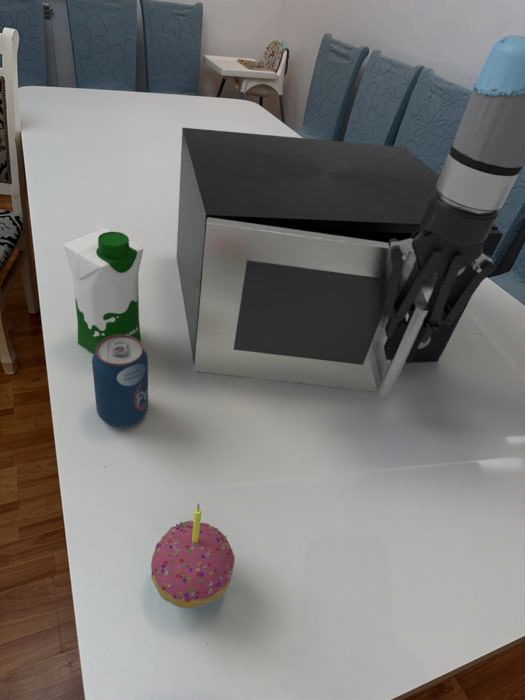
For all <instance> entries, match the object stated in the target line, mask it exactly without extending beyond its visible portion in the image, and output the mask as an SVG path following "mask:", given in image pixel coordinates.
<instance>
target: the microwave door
mask: <svg viewBox="0 0 525 700" xmlns="http://www.w3.org/2000/svg"><path fill="white" fill-rule="evenodd" d="M389 260H390V251H389V246H388V243H386V242H379V241H372V240H365V239H358V238H350V237H343V236H336V235H329V234H322V233H315V232H308V231H301V230H294V229H287V228H280V227H273V226H266V225H259V224H252V223H245V222H238V221H231V220H224V219H217V218H210V217H208V218H207V223H206V234H205V246H204V258H203V270H202V282H201V293H200V305H199V317H198V329H197V341H196V352H195V364H194V363H193V364H194V365H193V372H197V373H203V374H212V375H213V374H215V375H221V376H222V375H223V376H232V377H241V378H249V379H258V380H267V381H268V380H269V381H275V382H283V383H284V382H286V383H294V384H302V385H303V384H304V385H312V386H320V387H327V388H329V387H330V388H337V389H347V390H356V391H364V392H365V391H367V392H373V393H377V394H378V395H379V396H380V397H382V398H389V397H390V396H391V395H392V393H393V390H394V388H395V385H397V381H398V379H399V377H400V375H401V373H402V371H403V368H404V366H405V364H406V363H405V362H406V360H407V358H408V355H409V353H410V351H411V349H412V347H413V344H414V342H415V340H416V338H417V336H418V333H419V331H420V329H421V327H422V325H423V323H424V320H425V318H426V316H427V314H428V312H429V309H430V308H429V305H428V303H427V302H428V300H429V298H430V296H431V293H432V291H433V288H434V285H435V282H436V279H437V276H438V273H432V274H431V276H430V277H429V279H428V280H427V281H425V283H424V284H423V286H422V288H421V290H420V291H419V293H418V295H417V297H416V298H415V300H414V302H413V303H412V305H411V307H410V309H409V310H408V312H407V314H406V316H405V317H406V321H407V326H406V328H405V331H404V333H403V335H402V337H401V340H400V342H399V344H398V346H397V349H396V351H395V353H394V355H393V358H392V360H387V359H386V356H385V351H384V345H385V343H386V340H387V338H388V337H386V332H385V327H386V324H387V322H388V319H389V317H390V315H384V314H383V310H382V306H381V297H382V293H383V288H384V283H385V279H386V274H387V270H388V265H389ZM415 261H416V256H415V253H414V250H413V249H411V250H410V251H409V253H408V257H407V258H406V259H405V260H403V269H402V273H401V277H400V282H399V286H398V290H397V294H396V298H395V301H396V299H397V297H398V295H399V293H400V291H401V290H402V288H403V286H404V284H405V282H406V280H407V279H408V277H409V275H410V273H411V271H412V269H413V265H414V262H415Z"/></svg>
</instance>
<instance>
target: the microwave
mask: <svg viewBox="0 0 525 700" xmlns="http://www.w3.org/2000/svg"><path fill="white" fill-rule="evenodd" d="M180 149H181V150H180V168H179V169H180V170H179V172H180V173H179V196H178V214H177V215H178V217H177V236H176V237H177V239H176V262H177V267H178V273H179V274H178V275H179V282H180V287H181V292H182V300H183V306H184V312H185V319H186V325H187V331H188V337H189V338H188V339H189V343H190V350H191V356H192V363H193V364H195V352H196V341H197V329H198V317H199V305H200V293H201V282H202V270H203V258H204V246H205V234H206V223H207V218H208V217H210V218H217V219H224V220H231V221H238V222H245V223H252V224H259V225H266V226H273V227H280V228H287V229H294V230H301V231H308V232H315V233H322V234H329V235H336V236H343V237H350V238H358V239H365V240H372V241H379V242H386V243H388V242H389V240H390V239H397V240H398V241H402V240H406V239H410V238H411V236H412V234H413V233H414V232H415V231H416V230H417V229H418V228H419V226H420V224H421V221H422V218H423V216H424V213H425V211H426V208H427V206H428V203H429V201H430V198H431V196H432V194H433V193H434V192H435V191H437V188H436V184H437V181H438V179H439V176H440V174H438V173H437V172H435V171H434V170H433V169H432V168H431V167H429V166H428V165H427V164H426V163H425V162H424V161H423V160H422V159H420V158H419V157H418V156H417V155H416V154H414V152H413V151H411V150H410V149H409V148H408V147H406V146H398V145H397V146H396V145H387V144H386V145H385V144H374V143H373V144H372V143H364V142H363V143H362V142H349V141H341V140H340V141H339V140H328V139H317V138H305V137H295V136H285V135H284V136H283V135H282V136H281V135H272V134H261V133H250V132H239V131H238V132H237V131H227V130H215V129H204V128H194V127H182V128H181V147H180ZM503 236H504V233H503V232H502V231H501V230H500V229H499V227H498V226H497V225H496V224H495V223H494V224H493V226H492V228H491V230H490V232H489V234H488V236H487V238H486V240H485V241H484V242H483V244H482V249H483V251H482V253H483V254H484V255H489V256H490V258H491V259H492V258H493V256H494V254H495V252H496V250H497V248H498V247H499V244H500V242H501V240H502V238H503ZM470 266H471V263H470V264H469V265H467V266H466V267H464V268H463V269H461V270H460V271H458V274H457V277H456V280H455V282H454V284H452V286H451V289H450V291H449V294H448V297H447V299H448V298H449V296H450V295H451V293H452V292H453V290H454V289H455V287H456V286H457V284H458V283H459V281H460V280H461V278H462V277H463V275H464V274H465V272H466V271H467V269H468V268H469V267H470ZM431 294H432V293H431ZM430 297H431V296H430ZM429 300H430V298H429ZM429 300H428V302H427V303H429ZM446 301H447V300H446ZM470 301H471V298H470V299H469V300H468V302H467V303H466V305H465V306H464V307H463V309H462V310H461V312H460V313H459V315H458V316H457V317H456V319H455V320H454V322H453V323H452V324H451V325H445V324H444V323H443V324H438V325H439V328H438V329H437V330H434V331H432V333H431V335H430V337H429V339H428V341H427V342H426V343H420V345H419V347H418V349H417V351H416V353H415V355H414V357H413V359H412V361H411V363H428V362H429V363H432V362H433V363H434V362H435V363H436V362H439V361H440V359H441V357H442V354H443V353H444V351H445V349H446V347H447V345H448V343H449V341H450V339H451V337H452V335H453V333H455V330H456V327H457V325H458V324H459V322H460V320H461V318H462V315H463V314H464V312H465V310H466V309H467V306H468V304H469V302H470Z"/></svg>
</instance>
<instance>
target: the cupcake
mask: <svg viewBox="0 0 525 700" xmlns="http://www.w3.org/2000/svg"><path fill="white" fill-rule="evenodd" d="M200 507H201V506H200V503H197V507H196V508H195V510H194V512H193V513H194V514H193V520H188V521H179V523H176V525H175V526H171V527H170V529H169V530H167V531H166V532H165V534H164V535H162V537H161V539H159V542H157V543H156V546H155V547H154V548H155V549H154V551H153V553H152V557H151V563H150V568H151V577H150V578H151V580H152V583H153V585H154V586H155V588H156V590H157V592H158V594H159V596H160V597H161V598H162V599H163V600H164V601H166V602H168V603H170V604H172V605H174V606H176V607H177V608H179V609H193V608H197V607H201V606H204V605H205V604H208V603H210V602H214V601H216V600H218V599H219V598H221V596H222V595H223V594H224V593H225V592H226V591H227V589H228V588H229V585H230V583H231V580H232V575H233V573H234V567H235V563H236V562H235V561H236V558H235V554H234V551H233V549H232V547H231V544H230V542H229V540H228V538H227V535H225V534H224V533H222V532H221V531H220V530H219V528H217V527H215V526H213V525H210V524H209V523H208V522H201V521H202V520H201V519H202V509H200Z"/></svg>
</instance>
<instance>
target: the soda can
mask: <svg viewBox="0 0 525 700" xmlns="http://www.w3.org/2000/svg"><path fill="white" fill-rule="evenodd" d="M91 364H92V365H91V366H92V376H93V387H94V397H95V409H96V413H97V415H98V417H99V418H100V419H101V420H102V421H103V422H104V423H106V424H107V425H109V426H111V427H114V428H121V429H123V428H129V427H132V426H134V425H136V424H138V423H139V422H140V421H141V420H142V419H143V418H144V417H145V415H146V414H147V412H148V409H149V357H148V354H147V351H146V350H145V349H144V345H143V343H142V341H141V342H140V341H139V340H138V339H136V338H134V337H132V336H128V335H113V336H109V337H107V338H105V339H103V340H102V341H100V342H99V344H98V345H97V348H96V351H95V353H94V354H93V355H92V358H91Z"/></svg>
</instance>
